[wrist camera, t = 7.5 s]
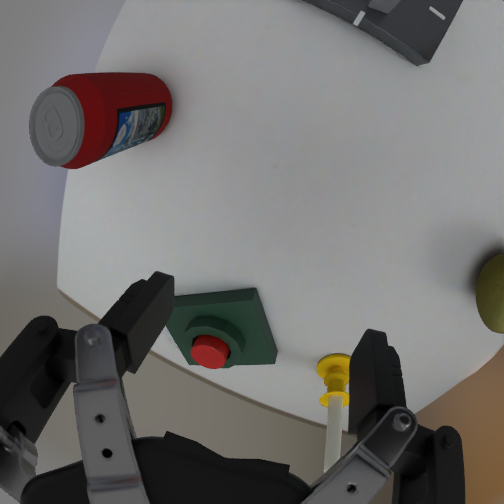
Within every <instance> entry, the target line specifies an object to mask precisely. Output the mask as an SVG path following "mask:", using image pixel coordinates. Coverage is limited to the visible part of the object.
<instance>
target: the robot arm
mask: <svg viewBox="0 0 504 504" xmlns="http://www.w3.org/2000/svg"><path fill="white" fill-rule="evenodd" d="M173 308H174V276H172V275H168V274H165V273H162V272H159V271H155V272H154V273H153V274H152V276H151V277H150V278H149V279H148V280H147V281H146V280H143V279H141V280H139V281H137V282H135V283H133V284H132V285H131V286H130V287H129V288H128V289H127V290H126V291H125V293H124V294H123V295H122V296H121V297H120V298H119V300H117V302H116V303H115V304H114V305H113V306H112V307H111V309H110V310H109V311H108V312H107V313H106V314H105V316H104V317H103V318H102V319H101V320H100V321H99V323H98V324H89V325H86V326H84V327H82V328H81V329H80V330H79V331H74V330H68V329H61V328H59V327H58V325H57V322H56V320H55V319H53V318H52V317H50V316H39V317H36V318H34V319H33V320H31V321H30V322H29V323H28V325H27V326H26V327H25V328H24V329H23V330H22V331H21V333H20V334H19V335H18V336H17V337H16V339H15V340H14V341H13V342H12V343H11V345H10V346H9V347H8V348H7V350H6V351H5V352H4V353H3V354H2V356H1V357H0V488H2V489H3V490H4V491H5V492H6V493H8V494H9V495H10V496H12V497H13V498H14V499H16V500H17V501H18V502H19V503H20V504H368V503H369V502H370V501H371V499H372V498H373V497H374V496H375V495H376V494H377V493H378V491H379V490H380V489H381V488H382V486H383V485H384V484H385V483H386V481H387V480H388V478H389V477H390V475H391V472H390V471H393V472H394V482H393V495H392V504H465V478H464V462H463V450H462V441H461V437H460V435H459V433H458V432H457V431H456V430H455V429H454V428H453V427H451V426H442V427H440V428H439V429H437V430H436V431H433V430H430V429H428V428H425V427H423V426H421V425H419V424H418V422H417V419H416V417H415V415H414V414H413V413H412V412H411V411H410V410H409V409H407V406H406V398H405V391H404V384H403V378H402V371H401V369H400V368H401V365H400V359H399V356H398V354H397V352H396V351H395V349H394V347H392V346H388V342H387V336H386V333H385V332H382V331H377V330H373V329H367V330H366V331H365V333H364V335H363V336H362V338H361V340H360V342H359V343H358V345H357V347H356V348H355V350H354V352H353V354H352V356H351V359H350V363H349V425H348V434H356V435H357V441H356V442H355V443H354V444H353V445H352V447H350V448H349V449H348V450H347V452H346V453H345V454H344V455H343V456H342V457H341V458H340V459H339V460H338V461H337V462H336V463H335V464H334V465H332V466H331V467H330V468H329V469H328V470H327V471H326V472H325V473H324V474H323V475H322V476H320V477H319V478H318V479H317V480H316V481H314V482H313V483H312V484H311V485H310V486H309V485H308V484H307V483H306V482H304V481H303V480H302V479H300V478H299V477H297V476H296V475H294V474H292V473H290V472H289V467H290V465H287V464H281V463H276V462H271V461H266V460H262V459H233V458H232V459H231V458H225V457H222V456H221V455H219V454H217V453H215V452H213V451H212V450H210V449H208V448H206V447H205V446H203V445H201V444H200V443H198V442H196V441H193V440H191V439H187V438H185V437H182V436H179V435H176V434H174V433H171V432H168V431H167V432H166V434H165V436H164V437H154V436H150V437H141V438H137V437H136V434H135V430H134V427H133V424H132V420H131V416H130V412H129V408H128V404H127V399H126V395H125V390H124V385H123V381H122V377H123V375H124V373H125V372H126V371H129V372H131V373H133V374H135V373H136V371H137V370H138V368H139V367H140V365H141V363H142V362H143V360H144V359H145V357H146V355H147V354H148V352H149V350H150V349H151V347H152V346H153V344H154V342H155V341H156V339H157V338H158V336H159V335H160V333H161V331H162V330H163V328H164V327H165V325H166V323H167V322H168V320H169V319H170V317H171V315H172V312H173ZM71 382H74V383H77V384H76V385H74V387H73V394H74V405H75V414H76V422H77V429H78V436H79V442H80V448H81V454H82V458H83V460H81V461H78V462H76V463H72V464H70V465H67V466H64V467H61V468H58V469H55V470H52V471H49V472H46V473H43V474H40V475H37V476H36V473H35V466H36V465H37V458H38V453H37V449H36V447H35V445H34V444H35V442H36V441H37V439H38V437H39V435H40V434H41V432H42V430H43V428H44V426H45V425H46V423H47V421H48V420H49V418H50V416H51V414H52V413H53V411H54V409H55V408H56V406H57V404H58V403H59V401H60V399H61V398H62V396H63V395H64V393H65V391H66V390H67V388H68V386H69V385H70V383H71Z"/></svg>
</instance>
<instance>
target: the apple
mask: <svg viewBox="0 0 504 504" xmlns="http://www.w3.org/2000/svg"><path fill="white" fill-rule="evenodd" d="M476 303H477V308H478V312H479V314H480V317H481V319H482V321H483V322H484V324H485V325H486V326H487V327H488V328H489V329H490V330H491V331H493V332H496V333H504V254H499V255H496V256H494V257H493V258H492V259H490V260H489V261H488V262H487V263H486V264H485V266H484V267H483V269H482V270H481V272H480V274H479V277H478V280H477V284H476Z"/></svg>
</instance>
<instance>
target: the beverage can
mask: <svg viewBox="0 0 504 504" xmlns="http://www.w3.org/2000/svg"><path fill="white" fill-rule="evenodd" d="M171 113H172V99H171V95H170V92H169V90H168V88H167V86H166V85H165V83H164V82H163V81H162V80H161V79H159V78H158V77H156V76H154V75H151V74H146V73H122V72H110V73H85V74H73V75H68V76H65V77H63V78H61V79H60V80H58V81H57V82H55V83H54V84H53V85H52V86H51V87H50V88H47V89H46V90H44V91H43V92H42V93H41V94H40V95H39V96H38V98H37V99H36V101H35V103H34V105H33V107H32V110H31V115H30V121H29V133H30V139H31V142H32V145H33V148H34V150H35V152H36V154H37V155H38V157H40V159H41V160H42V161H43V162H44V163H46V164H48V165H50V166H60V167H64V168H68V169H78V168H81V167H84V166H86V165H89V164H91V163H93V162H96V161H98V160H101V159H103V158H106V157H108V156H111V155H113V154H116V153H118V152H121V151H123V150H126V149H128V148H131V147H134V146H136V145H139V144H141V143H144V142H146V141H149V140H152V139H154V138H155V137H157V136H158V135H159V134H160V133H161V132H162V131H163V130H164V129H165V127H166V126H167V124H168V122H169V120H170V117H171Z"/></svg>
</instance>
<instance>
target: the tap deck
mask: <svg viewBox="0 0 504 504" xmlns="http://www.w3.org/2000/svg"><path fill="white" fill-rule="evenodd" d="M303 1H306V2H308V3H310V4H312V5H315V6H317V7H319V8H321V9H323V10H325V11H327V12H329V13H331V14H333V15H335V16H337V17H339V18H341V19H343V20H345V21H347V22H349V23H351V24H353V25H354V26H356V27H358V28H360V29H361V30H363V31H365V32H367V33H368V34H370V35H372V36H373V37H375V38H376V39H378V40H380V41H381V42H383V43H384V44H386V45H388V46H389V47H391V48H392V49H394V50H395V51H397V52H398V53H399V54H401V55H402V56H404V57H405V58H407V59H408V60H409V61H411V62H412V63H414V64H415V65H416V66H419V65H423V64H427V63H429V62H430V60H431V59H432V57H433V55H434V53H435V52H436V50H437V48H438V46H439V44H440V43H441V41H442V39H443V37H444V35H445V34H446V32H447V30H448V28H449V26H450V24H451V22H452V21H453V19H454V17H455V15H456V13H457V11H458V9H459V7H460V5H461V3H462V1H463V0H401V1H400V2H399V3H398V4H397V5H396V6H395V7H394V8H393V9H392V10H391V11H390V13H389V14H387V13H384V12H381V11H378V10H375V9H372V8H369V7H368V2H369V0H303Z"/></svg>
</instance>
